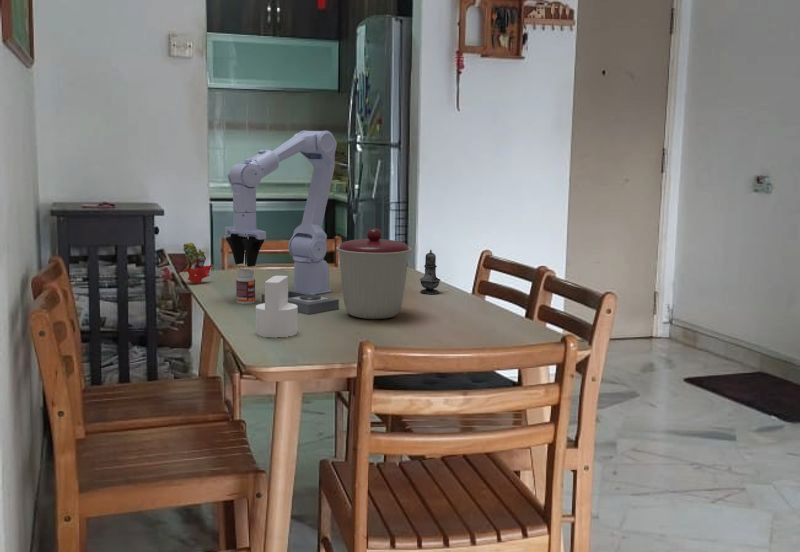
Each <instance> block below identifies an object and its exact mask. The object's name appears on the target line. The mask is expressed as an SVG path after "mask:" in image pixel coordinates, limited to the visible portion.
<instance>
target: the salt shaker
mask: <svg viewBox="0 0 800 552" xmlns="http://www.w3.org/2000/svg"><path fill="white" fill-rule="evenodd" d="M432 251H433V250H432V249H430V250H429V252H428V253H426V254H425V257H424V258H425V264H424V265H423V267H424V275H423V277H420V278H419V281H420V285H421V287H422V288H424V289H420V292H419V293H422V294H427V295H431V294H432V295H436V294H439V293H440V291H439V290H438V289H436V288H438V287H439V285H440V282H441V279H440V278H438V277H437V273H436V271H437V267H438V265H436V264H437V262H436V261H437V259H436V258H437V257H436V256H437V255H436V254H435V253H433V252H432Z"/></svg>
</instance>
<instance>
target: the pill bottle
mask: <svg viewBox="0 0 800 552" xmlns="http://www.w3.org/2000/svg"><path fill="white" fill-rule="evenodd" d="M254 271H255V270H254V269H249V268H243V269H241V268H240V269H238V270H237V277H236V279H235V287H236V288H235V289H236V290H235V291H236V298H235V299H236V303H237V304H243V305H247V304H250V305H251V304H254V303H256V278H255V277H254V275H255V274H254V273H255V272H254Z"/></svg>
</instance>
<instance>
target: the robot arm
mask: <svg viewBox="0 0 800 552" xmlns="http://www.w3.org/2000/svg"><path fill="white" fill-rule="evenodd" d="M337 145H338V142H337V140H336V138H335V136H334V135H333V133H332V132H331V131H329V130H305V129H304V130H301V131H299V132H297V133H294V135H293V136H292V137H291V138H290V139H289V138H288V140H287V141H285V142H283V143H281V145H280V146H278V147H276V148H274V149H273V150H270V149H260V150H258V151H257V152H258V153H257V154H256V155H254V156H253V157H250V158H246V159H245V158H244V162H243V163H236V164H234V165H233V166H231V168H230V170H229V174H227V180H228V182H229V184H230V186H231V192H232V212H233V213H232V214H233V215H232V216H233V217H232V218H233V221H232V222H233V223H232V225H233V226H224V235H230V236H227V237H225V240H226V242H227V243H228V245H229V248H230V250H231V253H232V255H233V261H234V264H235V265H242V264H244V262H245V260H246V267H248V268H250V267H255V266H256V264H257V259H258V258H259V257H258V256H259V253H260V251H261V247H262V246H263V244H264V243H265V240H267V231H265V230H261V229H258V228H257V187H258V186H259V184H260V183H261V180H262V179H264V178H265V177H266V176H269V175H270V174H271V173H273V172H275V171H276V170H278V168H279V166H280V163H281V162H283V161H285V160H287V159H288V158H290V157H293V156H294V155H296V154H298V153H300V154H301V155H302V156H303V157H304V158H305V159H306V160H307V161H308V162H309V163H310V164H311V166H312V167H313V169H312V170H313V171H312V175H311V179H310V185H309V189H308V193H307V199H306V203H305V208H304V211H303V215H302V220H301V223H300V224H299V225H298V226H296V228H295V229H294V230H293V234H292V237H291V238H290V239H289V241H288V244H287V245H288V246H287V247H288V253H289V255H290V256H292V261H294V262H293V263H294V264H293V276H294V277H293V279H294V280H293V281H294V282H293V287H294V288H293V289H292V290H296V291H300V292H305V293H310V294H315V295H320V294H325V293H327V294H328V293H332V289H330V266H329V264H328V262H327V261H326V260H324V257H325V256H326V254H327V252H328V251H327V249H328V246H327V238H328V235H327V233H326V232H325V231H324V229H323V227H322V226H323V222H324V218H325V213H326V209H327V208H326V207H327V204H328V199H329V194H330V190H331V187H332V186H331V185H332V181H333V176H334V172H335V167H336V162H335V161H336V160H335V159H336V157H335V154H336V151H337Z"/></svg>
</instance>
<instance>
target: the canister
mask: <svg viewBox="0 0 800 552" xmlns="http://www.w3.org/2000/svg"><path fill="white" fill-rule="evenodd" d="M382 234H383V233H382V231H381V230H380V229H379V228H369V229H368V230H367V232H366V237H367V238H360V239H350V240H347V241H344V242H342V243H341V244H340V245H337V246H336V247H335V250H336V251H337V252H338V256H339V257H338V258H339V267H340V278H341V279H340V280H341V288H342V296H343V304H344V307H345V310H346V312H347V313H348V314H349V315H351V316H352V317H355V318H358V319H359V318H360V319H366V320H381V319H382V320H383V319H384V320H385V319H389V318H393V317H395V316H397V315H398V314H399V312H401V309H402V306H403V301H404V300H403V299H404V295H405V294H404V293H405V286H406V280H407V271H408V264H409V256H410V253H411V252H412V251H413V249H412V247H410V246H408V245H407V244H406V243H405V242H402V241H399V240H393V239H387V238H386V239H384V238H382Z"/></svg>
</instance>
